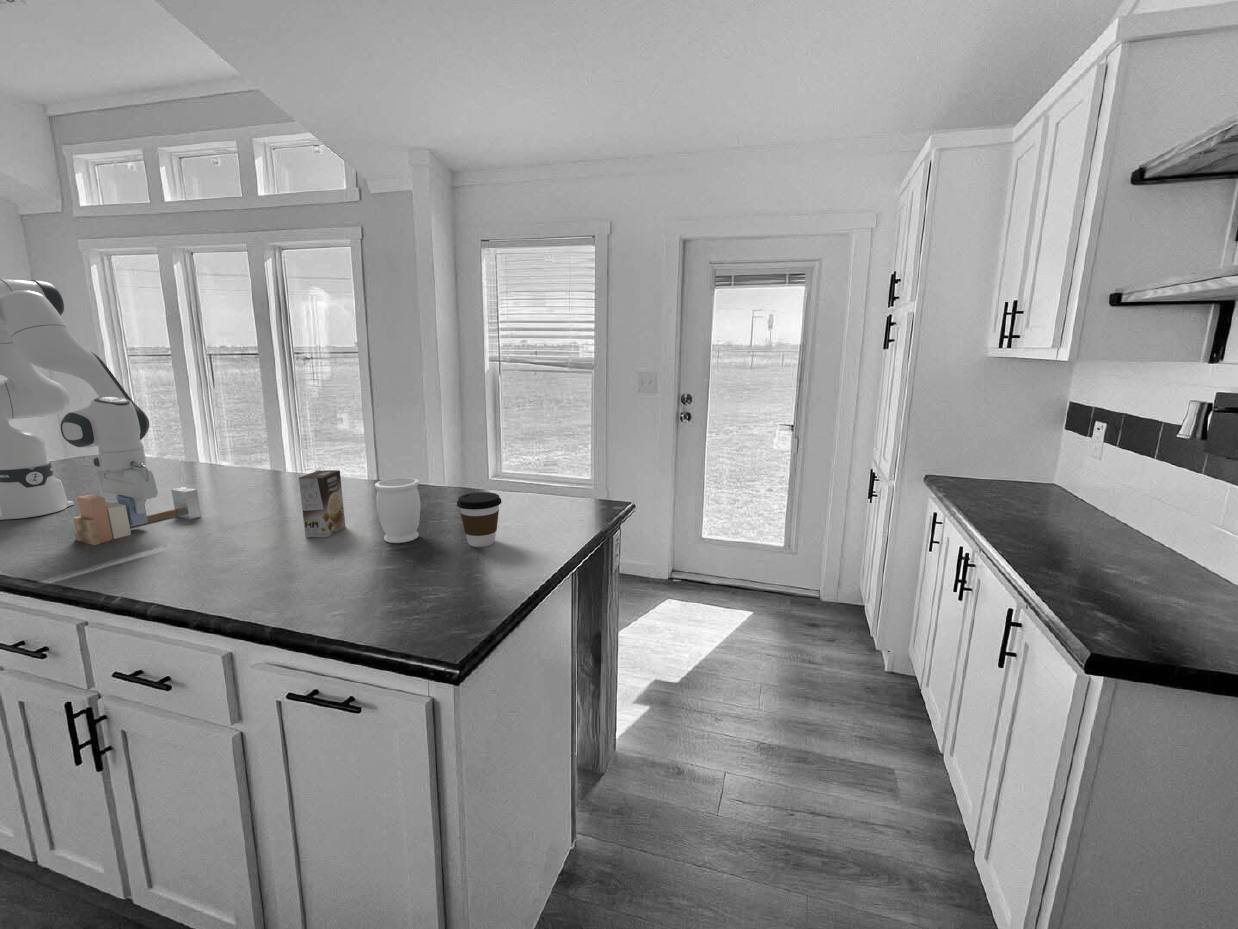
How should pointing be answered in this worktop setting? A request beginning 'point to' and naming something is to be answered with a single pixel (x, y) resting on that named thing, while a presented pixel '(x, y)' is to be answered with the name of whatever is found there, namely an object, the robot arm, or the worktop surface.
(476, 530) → the coffee cup
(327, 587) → the worktop surface
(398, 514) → the jar
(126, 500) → the pale blue cuboid
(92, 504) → the book
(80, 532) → the rack
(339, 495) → the coffee box
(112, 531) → the book
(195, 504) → the bookend
